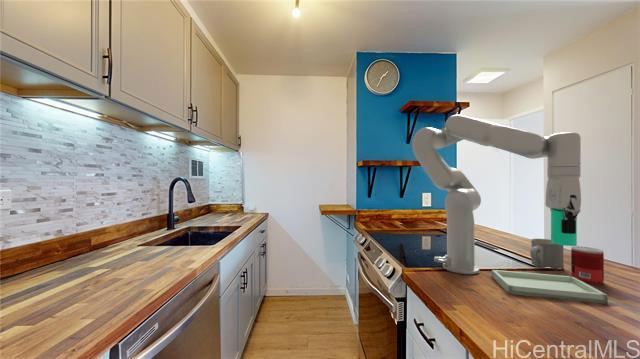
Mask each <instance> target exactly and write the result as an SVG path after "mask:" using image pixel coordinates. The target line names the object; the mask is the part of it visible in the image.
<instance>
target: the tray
mask: <svg viewBox="0 0 640 359" xmlns="http://www.w3.org/2000/svg"><path fill="white" fill-rule="evenodd" d="M491 277H492V279H493V280H494V281H496V283H498V285H499V286H501V287H502V289H504V291H505V292H507V293H508V294H509V295H510V294H511V295H518V296H527V297H528V296H529V297H538V298H549V299H557V300H565V301H567V300H568V301H577V302H584V303H585V302H586V303H594V304H595V303H596V304H604V305H607V304H609V303H608V302H609V301H608V300H609V299H608V294H606V293H605V292H602V291H601V290H599V289H598V288H595V287H594V286H592V285H589V283H585V282H582V281H580V280H578V279H577V278H575V277H573V276H572V275H570V276H569V275H561V274H547V273H538V272H537V273H535V272H534V273H533V272H525V271H524V272H523V271H510V270H500V269H491Z"/></svg>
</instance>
